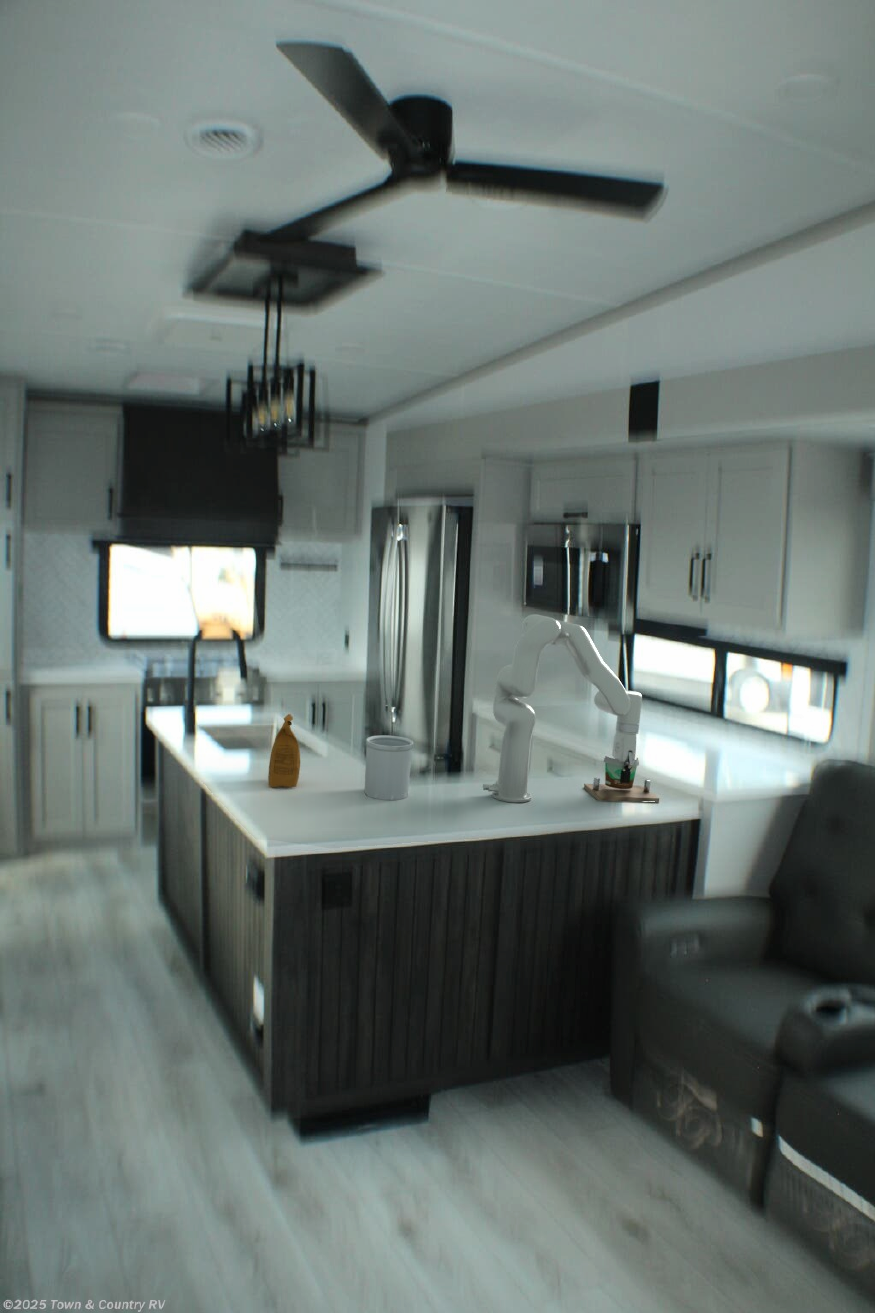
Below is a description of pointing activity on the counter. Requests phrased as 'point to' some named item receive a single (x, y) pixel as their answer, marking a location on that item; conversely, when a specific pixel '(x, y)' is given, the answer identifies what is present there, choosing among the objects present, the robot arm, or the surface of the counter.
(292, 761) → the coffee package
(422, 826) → the counter surface
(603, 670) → the robot arm
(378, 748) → the utensil holder
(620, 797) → the board
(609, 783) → the food container
